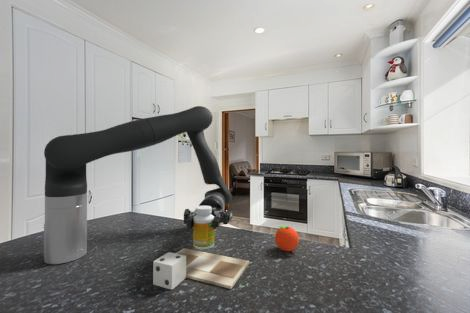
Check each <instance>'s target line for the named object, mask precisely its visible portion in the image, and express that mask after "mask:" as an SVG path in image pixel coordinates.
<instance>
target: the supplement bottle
mask: <svg viewBox="0 0 470 313" xmlns="http://www.w3.org/2000/svg"><path fill="white" fill-rule="evenodd" d="M195 210H196V214H197V215H196V216H194V218H193V227H192V242H193V243H192V244H193V247H194V248H195V249H196V250H197V249H198V250H208V249H212V248H213V247H214V246H215V242H216V241H215V239H216V238H215V236H216V235H215V234H216V233H215V231H216V229H213V219H214V216H213V215H212V214H211V213H212V207H211V206H199V205H198V206H196V207H195Z"/></svg>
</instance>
